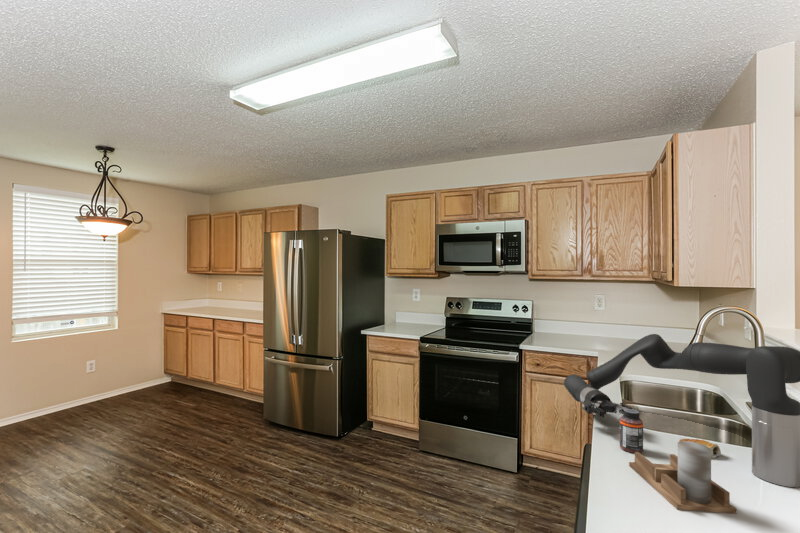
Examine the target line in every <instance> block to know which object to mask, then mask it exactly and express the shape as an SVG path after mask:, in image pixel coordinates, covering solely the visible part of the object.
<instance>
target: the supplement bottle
mask: <svg viewBox="0 0 800 533" xmlns="http://www.w3.org/2000/svg"><path fill="white" fill-rule="evenodd" d="M622 413H623V414H624V415H620V417H619V448H620V449H622V451H625V452H628V453H631V454H635V452H639V453H640V454H641V453H643V451H644V422H643V420H642V419H641V418H640V411H639V410H636V409H624V411H623V412H622Z"/></svg>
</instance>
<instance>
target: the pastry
mask: <svg viewBox="0 0 800 533" xmlns="http://www.w3.org/2000/svg"><path fill="white" fill-rule="evenodd" d="M679 441H689V442H695V443H699V444H702V445H704V446H707V447H708V448H710V449H711V460H713V459H715V458H717V457H719V456H721V454H722V452H721V448H720V446H719V444H717V443H713V442H710V441H707V440H705V439H698V438H695V439H694V438H682V439H679Z"/></svg>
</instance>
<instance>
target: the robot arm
mask: <svg viewBox="0 0 800 533" xmlns="http://www.w3.org/2000/svg"><path fill="white" fill-rule="evenodd" d="M639 355H640V356H642V358H643V359H644V360H645V362H646V363H647V364H648V365H649V366H650V367H652V368H655V369H660V370H661V369H662V370H663V369H664V370H683V371H686V370H687V371H694V372H699V373H704V374H705V373H707V374H714V375H730V376H731V375H734V376H735V375H746V384H747V392H748V395H749V398H750V399H751V472H752V474H753V475H754V476H756V477H757V478H759V479H761V480H763V481H766V482H768V483H772V484H775V485H779V486H784V487H789V488H800V402H799V401H798V400H796V399H794V398H791V397H790V396H789V395H788V394H787V388H786V387H787V386H786V384H796V383H800V350H798V349H796V348H793V347H789V346H773V345H772V346H771V345H769V346H768V345H767V346H766V345H761V346H756V347H744V346H738V345H732V344H725V343H714V342H693V343H690V344H689V345H687V346H685V348H684V349H683V350H682V351H681V352H677V351H674V350H673V349H672V348H671V347H670V345H668V343H667V342H666V341H665V340H664V339H663V337H662V336H661V335H660V334H657V333H651V334H648V335H645V336H643V337H642V338H640V339H638V340H637V341H635V342H634V343H632V344H631V345H630V346H628V347H627V348H625V349H624V350H622V351H621V352H620V353H618V354H617V355H615V356H614V357H613V358H611V359H610V360H608V361H607V362H605V363H603V364H601V365H599V366H597V367H594V368H593V369H590V370H589V371H588V372H587V373H586V378H587V379H588V381H589V384H588V383H587V381H585V380H584V379H583V378H582V377H581V376H580V375H577V374H570V375H567V376H566V377H565V379H564V381H563V385H564V388H565V389H566V390H567V392H568V393H569V394H570V395H571V397H572V398H573V400H575V401H576V402H578V403H579V402H580V403H582V407H581V408H582V409H583V411H584V412H585V413H587V415H588V414H589V415H590V414H593V415H596V416H598V417H600V418H601V419H604V418H605V415H607V414H609V415H611V414H612V415H615V416H623V415H624V414H623V411H624V409H633V407H631V406H630V405H627V404H626V403H623V402H620V403H616V402H613V401H612V400H611V398H610V397H609V396H608V395H607V394H606V393H604V392H602V391H600V389H602V388H603V387H605V386H607V385H610V384H611V383H613V382H616V381H617V380H618V379H619V378H620V377H621V376H622V374H623V373H624V371H625V369H626V367H627V365H628V364H629V362H631V360H632V359H634V358H636V356H639Z"/></svg>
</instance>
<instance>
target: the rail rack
mask: <svg viewBox="0 0 800 533" xmlns="http://www.w3.org/2000/svg"><path fill="white" fill-rule="evenodd" d="M669 456H670V458H669V459H670V462H669V463H670V464H667V463H652V461H650V460H649V459H648V458H646V456H644V455H643V454H641V453H639V452H635V453H634V461H629V462H628V466H629V467H630V468H631V469H632V470H633V471H634V472H635V473H636V474H637V475H638V476H640V478H642V479H643V480H644V481H646V483H648V485H650V487H652V488H653V489H654V490H655V491H656V492H657V493H659V495H661V496H662V497H663V498H664V499H665V500H666V502H669V504H671V505H672V506H673V507H674V508H675V509H676V510H679V511H680V510H682V511H694V512H695V511H697V512H706V513H707V512H709V513H723V514H724V513H725V514H737V508H736V507H735V506H734V505H732V504H731V503H730V499H731V498H730V496H731V495H730V494H731V493H730V492H729V491H728V490H727V489H725V488H724V487H723V486H721V485H719V484H717V483H716V482H715V481H713V480H712V458H711V449H710V448H708V447H707V446H704V445H702V444H699V443H695V442H689V441H680V440H679V441H678V442H677V455H676V454H674V453H672V454H671V453H670V455H669Z"/></svg>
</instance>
